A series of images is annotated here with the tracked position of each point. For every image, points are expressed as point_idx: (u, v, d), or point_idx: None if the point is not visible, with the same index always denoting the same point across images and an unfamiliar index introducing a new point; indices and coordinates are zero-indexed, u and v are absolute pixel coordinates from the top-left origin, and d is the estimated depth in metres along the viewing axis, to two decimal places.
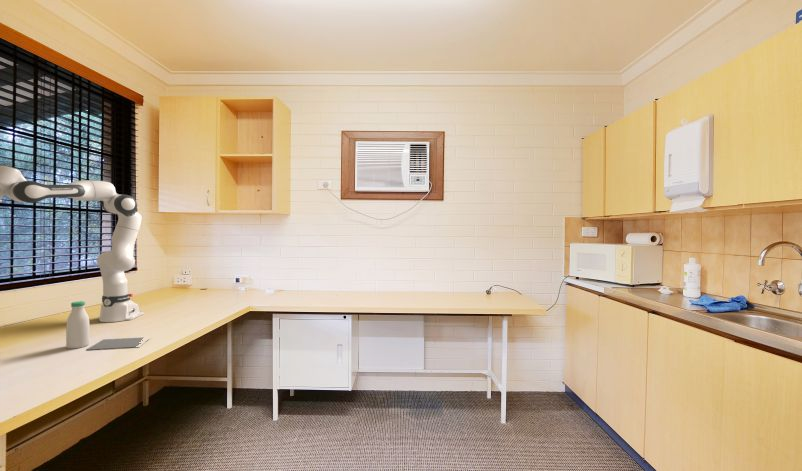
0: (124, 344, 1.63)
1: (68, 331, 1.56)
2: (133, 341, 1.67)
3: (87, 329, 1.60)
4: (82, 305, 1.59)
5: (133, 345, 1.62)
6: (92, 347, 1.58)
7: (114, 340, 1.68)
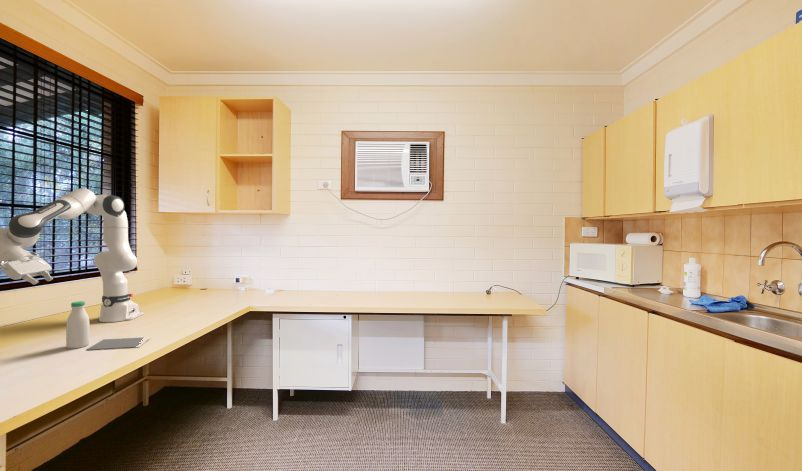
0: (124, 344, 1.63)
1: (68, 331, 1.56)
2: (133, 341, 1.67)
3: (87, 329, 1.60)
4: (82, 305, 1.59)
5: (133, 345, 1.62)
6: (92, 347, 1.58)
7: (114, 340, 1.68)
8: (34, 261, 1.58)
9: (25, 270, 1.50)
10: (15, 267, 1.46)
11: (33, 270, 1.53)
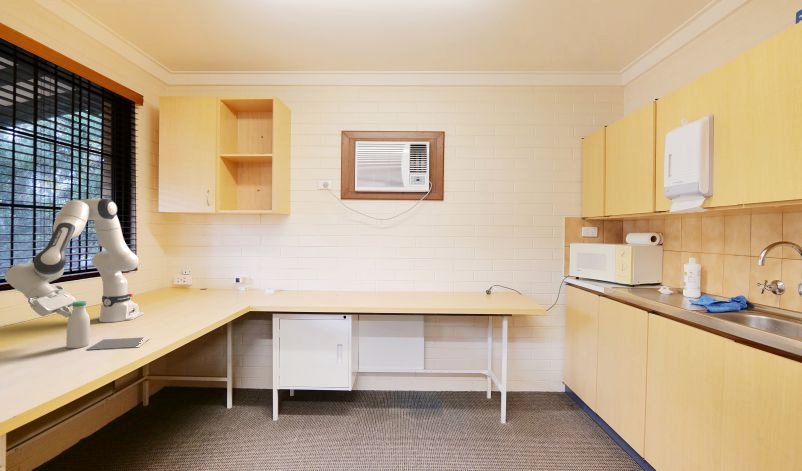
0: (124, 344, 1.63)
1: (69, 331, 1.56)
2: (133, 341, 1.67)
3: (88, 329, 1.60)
4: (83, 305, 1.59)
5: (133, 345, 1.62)
6: (92, 347, 1.58)
7: (114, 340, 1.68)
8: (60, 295, 1.61)
9: (53, 306, 1.52)
10: (43, 304, 1.49)
11: (60, 304, 1.56)
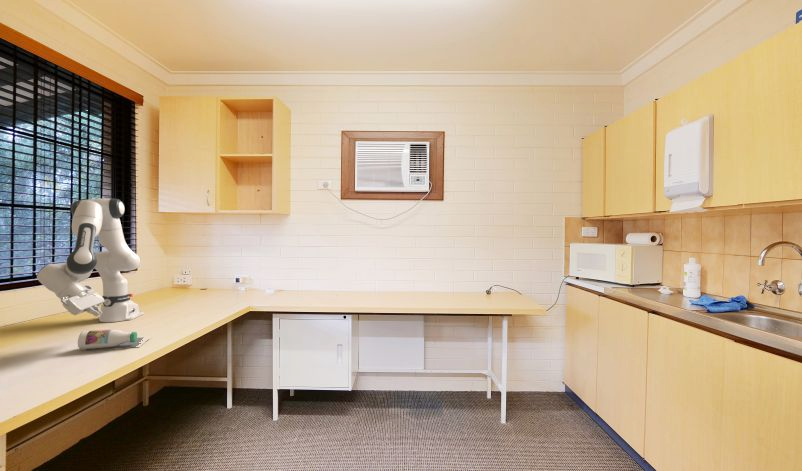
0: (124, 344, 1.63)
1: (100, 346, 1.56)
2: None
3: None
4: None
5: (133, 345, 1.62)
6: None
7: None
8: (89, 294, 1.64)
9: (84, 305, 1.56)
10: (75, 303, 1.52)
11: (90, 304, 1.59)
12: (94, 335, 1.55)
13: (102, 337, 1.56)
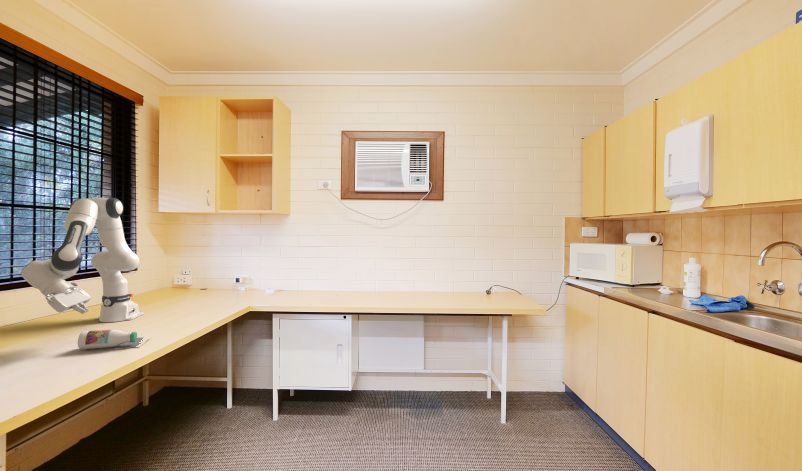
0: (124, 344, 1.63)
1: (100, 346, 1.56)
2: None
3: None
4: None
5: (133, 345, 1.62)
6: None
7: None
8: (75, 292, 1.63)
9: (69, 302, 1.54)
10: (61, 300, 1.51)
11: (76, 301, 1.58)
12: (94, 335, 1.55)
13: (102, 337, 1.56)
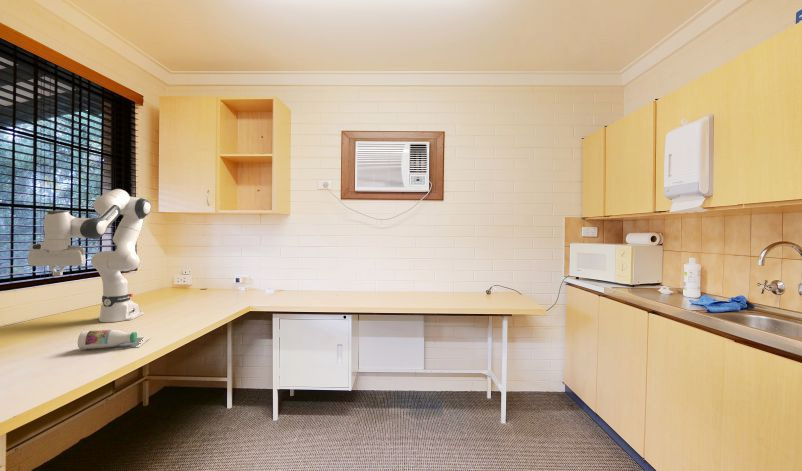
0: (124, 344, 1.63)
1: (99, 346, 1.56)
2: None
3: None
4: None
5: (133, 345, 1.62)
6: None
7: None
8: None
9: None
10: None
11: None
12: (94, 335, 1.55)
13: (102, 337, 1.56)
